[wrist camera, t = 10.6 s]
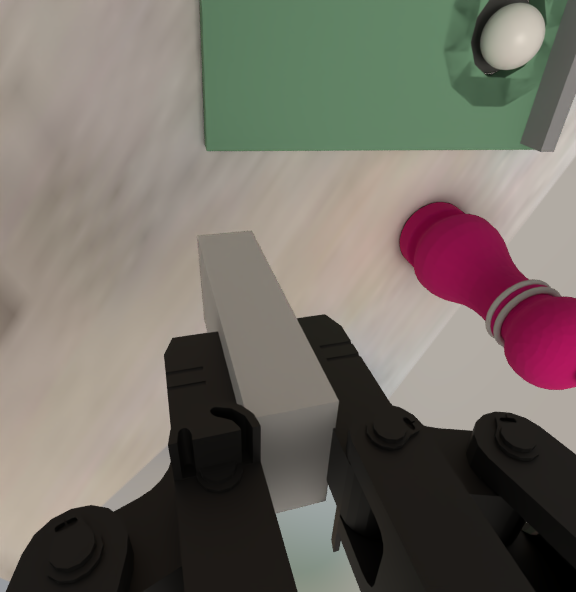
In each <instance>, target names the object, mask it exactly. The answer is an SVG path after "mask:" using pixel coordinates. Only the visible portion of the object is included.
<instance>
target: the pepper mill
mask: <svg viewBox="0 0 576 592" xmlns="http://www.w3.org/2000/svg"><path fill="white" fill-rule="evenodd" d="M400 249H401V252H402V255H403V256H404V257H405V259H406V260H407V261H408V262H409V263H410V264H411V265H412V266H413V267H414V270H415V274H416V276H417V279H418V280H419V282H420V283H421V284H422V285H423V286H424V287H425V288H426V289H427V290H429V291H430V292H431V293H432V294H434V295H436V296H438V297H440V298H442V299H444V300H448V301H451V302H455V303H459V304H463V305H465V306H467V307H469V308H471V309H473V310H474V311H475V312H477V313H478V314H479V315H480V316H482V318H483V319H484V320H485V323H486V329H487V332H488V333H489V334H490V336H491V337H493V338H495V340H496V341H497V343H498V344H499V345H501V346H503V347H504V352H505V356H506V359H507V361H508V364H509V365H510V366H511V367H512V369H513V370H514V371H515V372H516V373H517V374H518V375H519V376H520V377H522V378H523V379H524V380H525V381H527V382H529V383H530V384H533V385H535V386H537V387H540V388H544V389H549V390H563V389H568V388H572V387H576V298H572V297H561V295H560V294H559V292H558V291H556V290H555V289H552V288H551V287H550V286H549V285H548V284H547V283H545V282H543V281H540V280H529V279H528V278H526V277H525V276H524V275H523V274H522V273H521V272H520V271H519V270H518V269H517V267H516V266H515V264H514V263H513V261H512V259H511V257H510V255H509V252H508V249H507V247H506V244H505V242H504V240H503V238H502V237H501V235H500V234H499V232H498V231H497V230H496V229H495V228H494V227H493V226H492V225H491V224H490V223H489V222H487V221H486V220H485V219H483V218H481V217H479V216H476V215H471V214H465V213H464V212H462V211H461V210H460V209H458V208H457V207H455V206H454V205H452V204H450V203H445V202H437V203H431V204H429V205H427V206H424V207H422V208H420V209H419V210H418V211H417V212H415V213H414V214H413V215H412V216H411V217H410V218H409V220H408V221H407V222H406V224H405V226H404V228H403V230H402V232H401V237H400Z"/></svg>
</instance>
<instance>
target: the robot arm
mask: <svg viewBox="0 0 576 592" xmlns="http://www.w3.org/2000/svg"><path fill="white" fill-rule="evenodd" d="M197 240H198V252H199V264H200V276H201V287H202V299H203V311H204V320H205V324H206V329H207V333H203V334H196V335H189V336H182V337H176V338H172V340H171V342H170V344H169V346H168V348H167V350H166V352H165V354H164V359H165V370H166V381H167V390H168V402H169V413H170V423H171V430H170V436H169V442H168V448H169V454H170V459H171V463H170V466H169V469H168V470H167V472H166V473H165V475H164V477H163V478H162V480H161V481H160V482H159V483H158V484H157V485H156V486H155V487H154V488H153V489H152V490H150V491H149V492H147V493H146V494H144V495H143V496H141V497H140V498H138V499H136V500H134V501H133V502H131V503H129V504H127V505H125V506H123V507H121V508H120V509H118V510H116V511H114V512H113V511H111V510H110V509H109V508H105V507H99V506H93V505H89V506H84V507H79V508H74V509H70V510H68V511H67V512H65V513H63V514H61V515H59V516H57V517H55V518H53V519H51V520H50V521H49V522H48V523H47V524H46V525H45V526H44V527H42V528H41V529H40V530H39V531H38V532H37V533H36V534H35V535H34V536H33V538H32V539H31V541H30V542H29V544H28V546H27V547H26V549H25V550H24V552H23V554H22V555H21V558H20V560H19V562H18V565H17V567H16V569H15V571H14V574H13V576H12V578H11V581H10V583H9V585H8V588H7V590H6V592H297V589H296V585H295V581H294V578H293V574H292V570H291V567H290V563H289V560H288V556H287V553H286V549H285V546H284V542H283V538H282V535H281V531H280V528H279V524H278V521H277V517H276V513H279V512H283V511H287V510H291V509H295V508H299V507H303V506H307V505H311V504H314V503H319V502H323V501H325V500H326V494H327V487H328V485H329V488H330V490H331V492H332V495H333V497H334V500H335V502H336V505H337V508H336V513H335V520H334V526H333V532H332V539H331V540H332V546H333V552H336V551H338V550H339V547H340V541H342V544H343V547H344V549H345V552H346V555H347V557H348V560H349V562H350V565H351V567H352V570H353V573H354V575H355V578H356V581H357V583H358V585H359V588H360V591H361V592H576V454H574V453H573V452H572V451H571V450H569V449H568V448H567V447H565V446H564V445H563V444H562V443H560V442H559V441H558V440H556V439H555V438H554V437H552V436H551V435H550V434H549V433H547V432H546V431H545V430H544V429H542V428H541V427H540V426H538V425H536V424H535V423H533V422H531V421H530V420H528V419H526V418H524V417H521V416H518V415H515V414H512V413H506V412H492V413H489V414H485V415H483V416H482V417H481V418H480V419H479V420H478V421H477V422H476V423H475V426H474V429H473V431H467V430H454V429H441V428H433V427H427V426H424V425H422V424H421V422H420V421H419V420H418V419H417V418H416V417H415V416H414V415H413V414H411V413H409V412H407V411H405V410H404V409H402V408H400V407H396V406H392V404H391V403H390V402H389V400H388V399H387V397H386V396H385V394H384V392H383V391H382V389H381V388H380V386H379V385H378V383H377V381H376V380H375V378H374V377H373V375H372V374H371V372H370V370H369V369H368V367H367V366H366V364H365V363H364V361H363V359H362V358H361V356H359V354H358V351H357V350H356V348H355V347H354V345H353V344H351V340H350V339H349V337H348V336H347V334H346V333H345V331H344V329H343V328H342V326H341V325H339V324H338V323H336V322H335V321H334V320H332V319H331V318H329V317H328V316H327V315H325V314H324V315H317V316H310V317H303V318H296V316H295V314H294V312H293V310H292V308H291V307H290V305H289V303H288V301H287V299H286V297H285V295H284V293H283V291H282V289H281V287H280V285H279V283H278V281H277V279H276V277H275V275H274V273H273V271H272V269H271V267H270V266H269V264H268V262H267V260H266V258H265V256H264V254H263V252H262V250H261V248H260V246H259V244H258V242H257V240H256V238H255V236H254V234H253V232H252V231H244V232H233V233H222V234H212V235H201V236H197Z"/></svg>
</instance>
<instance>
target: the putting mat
mask: <svg viewBox="0 0 576 592" xmlns="http://www.w3.org/2000/svg"><path fill="white" fill-rule="evenodd" d="M199 1H200V28H201V55H202V82H203V108H204V135H205V147H206V150H207V151H333V150H537V151H540V152H554V150H555V147H556V144H557V142H558V139H559V136H560V134H561V131H562V128H563V126H564V123H565V120H566V118H567V115H568V112H569V110H570V107H571V104H572V102H573V99H574V97H575V94H576V0H529V2H528V0H199ZM513 3H527V4H530V5H532V6H534V7H535V8H537V9H538V10H539V11H540V13H541V14H542V16H543V19H544V22H545V36H544V40H543V43H542V45H541V47H540V49H539V51H538V52H537V53H536V55H535V56H534V57H533V58H532V59H531V60H530V61H528V62H527V63H526V64H524V65H522V66H520V67H518V68H515V69H511V70H500V69H496V68H494V67H492V66H490V65H489V64H488V63H487V62H486V61H485V59H484V58H483V56H482V53H481V49H480V38H481V34H482V31H483V28H484V26H485V24H486V23H487V21H488V20H489V19H490V17H491V16H492V15H493V14H494V13H495V12H497V11H498V10H499V9H501V8H502V7H504V6H507V5H509V4H513ZM498 70H499V71H498ZM496 71H497V72H496ZM492 72H496V73H494V74H492V75H491V74H484V73H492Z"/></svg>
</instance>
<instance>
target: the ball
mask: <svg viewBox="0 0 576 592" xmlns="http://www.w3.org/2000/svg"><path fill="white" fill-rule="evenodd" d="M544 36H545V22H544V19H543V16H542V14H541V13H540V11H539V10H538V9H537V8H535V7H534V6H532V5H530V4H527V3H513V4H509V5H507V6H504V7H502V8H501V9H499V10H498V11H497V12H495V13H494V14H493V15H492V16H491V17H490V19H489V20H488V21H487V23H486V24H485V26H484V28H483V31H482V34H481V38H480V49H481V53H482V56H483V58H484V59H485V61H486V62H487V63H488V64H489V65H490V66H492V67H494V68H496V69H500V70H511V69H515V68H518V67H520V66H522V65H524V64H526V63H527V62H528V61H530V60H531V59H532V58H533V57H534V56H535V55H536V53H537V52H538V51H539V49H540V47H541V45H542V43H543V40H544Z"/></svg>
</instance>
